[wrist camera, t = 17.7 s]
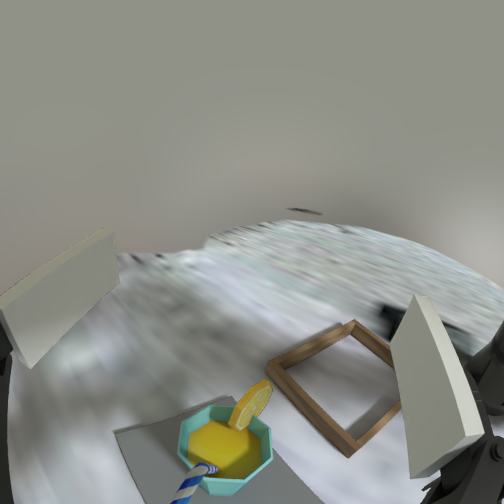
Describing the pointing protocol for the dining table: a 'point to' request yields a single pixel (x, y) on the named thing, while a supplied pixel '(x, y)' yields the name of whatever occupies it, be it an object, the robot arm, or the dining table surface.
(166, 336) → the dining table surface
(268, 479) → the board
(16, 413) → the dining table surface
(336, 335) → the wooden picture frame
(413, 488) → the dining table surface
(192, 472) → the cup
